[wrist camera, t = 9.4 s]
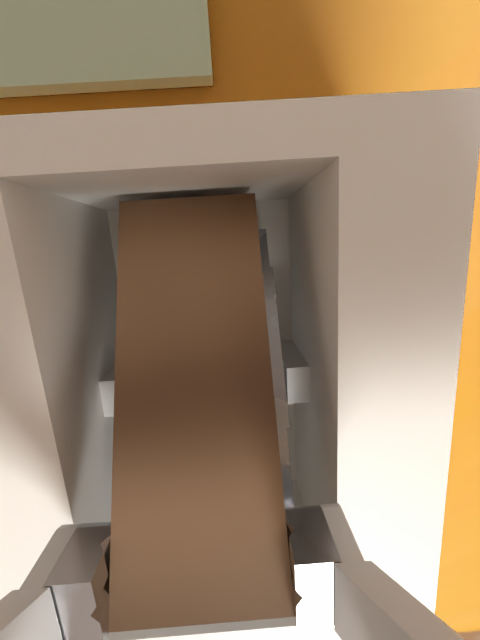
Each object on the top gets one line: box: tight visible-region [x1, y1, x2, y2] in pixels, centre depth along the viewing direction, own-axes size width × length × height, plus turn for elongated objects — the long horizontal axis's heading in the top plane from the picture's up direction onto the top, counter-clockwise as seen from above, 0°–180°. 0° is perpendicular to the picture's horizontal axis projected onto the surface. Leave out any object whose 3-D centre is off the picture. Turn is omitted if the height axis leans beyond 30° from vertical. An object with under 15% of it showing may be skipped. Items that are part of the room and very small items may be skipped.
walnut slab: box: [108, 193, 295, 633], centre depth 10 cm, size 11×4×3 cm, turn 4°
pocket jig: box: [0, 88, 480, 640], centre depth 12 cm, size 16×14×7 cm
